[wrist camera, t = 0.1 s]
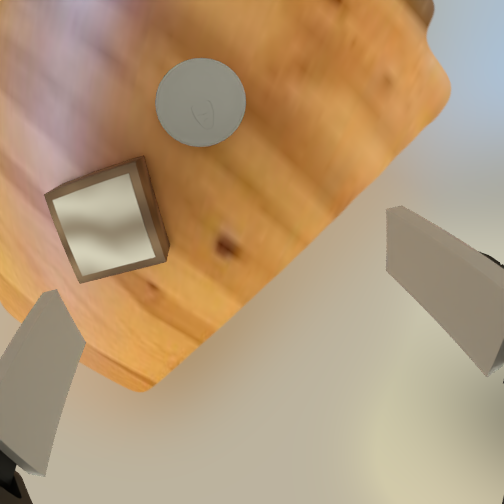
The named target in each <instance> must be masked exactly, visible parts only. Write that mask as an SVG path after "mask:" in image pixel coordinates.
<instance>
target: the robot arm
mask: <svg viewBox="0 0 504 504" xmlns="http://www.w3.org/2000/svg"><path fill="white" fill-rule="evenodd" d="M386 215H387V256H386V259H387V260H386V271H387V272H388V273H389V274H390V275H391V276H392V277H393V278H394V279H395V280H396V281H397V282H398V283H399V284H400V285H401V286H402V287H403V288H404V289H405V290H406V291H407V292H408V293H409V294H410V295H411V296H412V297H413V298H414V299H415V300H416V301H417V302H418V303H419V304H420V305H421V306H422V307H423V308H424V309H425V310H426V311H427V312H428V313H429V314H430V315H431V316H432V317H433V318H434V319H435V320H436V321H437V322H438V323H439V324H440V326H441V327H442V328H443V329H444V330H445V331H446V332H447V333H448V334H449V335H450V336H451V337H452V338H453V340H455V342H456V343H457V344H458V345H459V346H460V347H461V348H462V349H463V351H464V352H465V353H466V354H467V355H468V356H469V357H470V358H471V360H472V361H473V362H474V363H475V364H476V365H477V367H478V368H479V369H480V370H481V371H482V372H483V373H484V375H485V376H486V377H488V376H489V375H491V374H492V373H494V372H495V371H496V370H498V369H499V368H501V367H502V366H503V364H504V265H503V264H502V265H500V262H498V261H497V260H495V259H494V258H492V257H491V256H489V255H487V254H484V253H481V252H479V251H477V250H475V249H474V248H472V247H471V246H469V245H467V244H466V243H464V242H463V241H461V240H460V239H458V238H456V237H455V236H453V235H452V234H450V233H448V232H447V231H445V230H443V229H442V228H440V227H438V226H437V225H435V224H433V223H432V222H430V221H428V220H427V219H425V218H423V217H421V216H420V215H418V214H416V213H414V212H413V211H410V210H409V209H407V208H405V207H403V206H398V207H394V208H389V209H386ZM85 344H86V342H85V340H84V338H83V337H82V335H81V333H80V331H79V330H78V328H77V326H76V325H75V323H74V321H73V319H72V317H71V316H70V314H69V312H68V310H67V308H66V306H65V304H64V303H63V301H62V299H61V297H60V295H59V293H58V291H57V289H56V290H52V291H48V292H44V293H43V294H42V295H41V296H40V298H39V299H38V301H37V302H36V304H35V305H34V306H33V308H32V309H31V311H30V312H29V314H28V315H27V317H26V318H25V320H24V321H23V323H22V324H21V326H20V327H19V329H18V331H17V332H16V334H15V336H14V337H13V339H12V340H11V342H10V343H9V345H8V347H7V348H6V350H5V352H4V354H3V355H2V357H1V359H0V504H33V503H32V501H31V499H30V497H29V494H28V492H27V489H26V487H25V484H24V482H23V479H22V477H21V476H20V475H19V473H18V472H16V471H15V468H16V465H18V466H19V467H21V468H22V469H23V470H24V471H26V472H27V473H28V474H32V475H38V476H43V477H45V475H46V470H47V466H48V461H49V457H50V453H51V449H52V445H53V441H54V437H55V434H56V430H57V427H58V423H59V420H60V417H61V413H62V410H63V407H64V404H65V400H66V397H67V394H68V391H69V388H70V385H71V382H72V379H73V377H74V373H75V371H76V368H77V365H78V363H79V360H80V357H81V355H82V352H83V349H84V347H85ZM503 383H504V381H503ZM502 504H504V498H503V502H502Z"/></svg>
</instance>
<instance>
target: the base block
mask: <svg viewBox="0 0 504 504" xmlns="http://www.w3.org/2000/svg"><path fill="white" fill-rule="evenodd" d="M44 196H45V199H46V202H47V205H48V208H49V210H50V213H51V216H52V219H53V221H54V224H55V227H56V229H57V232H58V235H59V237H60V240H61V242H62V245H63V247H64V249H65V252H66V254H67V257H68V259H69V261H70V263H71V266H72V268H73V270H74V272H75V275H76V277H77V279H78V281H79V283H80V284H81V283H85V282H89V281H93V280H97V279H101V278H105V277H109V276H112V275H116V274H120V273H124V272H128V271H132V270H136V269H140V268H144V267H148V266H152V265H156V264H160V263H164V262H166V261H167V256H168V252H169V247H170V243H169V240H168V237H167V234H166V231H165V228H164V224H163V221H162V218H161V215H160V211H159V208H158V205H157V201H156V198H155V194H154V191H153V187H152V184H151V180H150V177H149V173H148V170H147V166H146V162H145V158H144V156H141V157H138V158H135V159H131V160H128V161H125V162H122V163H119V164H116V165H113V166H110V167H107V168H104V169H101V170H99V171H96V172H93V173H90V174H87V175H85V176H82V177H79V178H77V179H74V180H71V181H69V182H66V183H64V184H61V185H59V186H58V187H56V188H54V189H53V190H51V191H49V192H48V193H46V194H44Z"/></svg>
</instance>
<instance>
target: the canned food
mask: <svg viewBox="0 0 504 504" xmlns="http://www.w3.org/2000/svg"><path fill="white" fill-rule="evenodd" d="M155 104H156V112H157V116H158V119H159V121H160V123H161V125H162V127H163V128H164V129H165V130H166V132H167V133H168V134H169V135H170V136H172V137H173V138H174V139H175V140H177V141H179V142H181V143H183V144H186V145H189V146H196V147H205V146H211V145H215V144H218V143H220V142H222V141H224V140H225V139H227V138H228V137H229V136H230V135H232V134H233V132H234V131H235V130H236V129H237V128H238V126H239V124H240V123H241V121H242V119H243V116H244V113H245V107H246V96H245V91H244V88H243V85H242V83H241V81H240V79H239V78H238V76H237V75H236V74H235V72H234V71H232V70H231V69H230V68H229V67H228V66H226V65H225V64H223V63H221V62H219V61H216V60H213V59H207V58H194V59H190V60H186V61H184V62H181V63H179V64H177V65H176V66H175V67H173V68H172V69H171V70H169V72H168V73H167V74H166V75H165V76H164V77H163V79H162V81H161V82H160V84H159V87H158V90H157V93H156V100H155Z"/></svg>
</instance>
